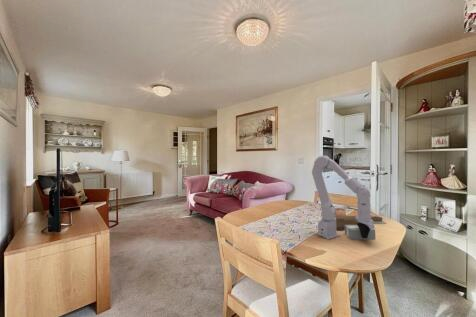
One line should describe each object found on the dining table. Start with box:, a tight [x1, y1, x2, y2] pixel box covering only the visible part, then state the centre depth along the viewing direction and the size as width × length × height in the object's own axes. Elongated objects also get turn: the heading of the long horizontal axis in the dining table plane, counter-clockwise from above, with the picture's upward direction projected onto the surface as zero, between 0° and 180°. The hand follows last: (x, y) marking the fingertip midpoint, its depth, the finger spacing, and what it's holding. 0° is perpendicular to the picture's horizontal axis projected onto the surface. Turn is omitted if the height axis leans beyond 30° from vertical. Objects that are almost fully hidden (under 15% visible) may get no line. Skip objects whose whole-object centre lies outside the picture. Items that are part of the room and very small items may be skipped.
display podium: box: [334, 215, 360, 231], centre depth 124 cm, size 5×18×7 cm, turn 86°
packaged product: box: [370, 210, 387, 225], centre depth 140 cm, size 18×5×10 cm
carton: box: [344, 225, 376, 240], centre depth 113 cm, size 8×12×5 cm, turn 86°
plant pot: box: [334, 207, 347, 216], centre depth 142 cm, size 7×7×7 cm
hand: (364, 237), depth 107 cm, fingers closed
